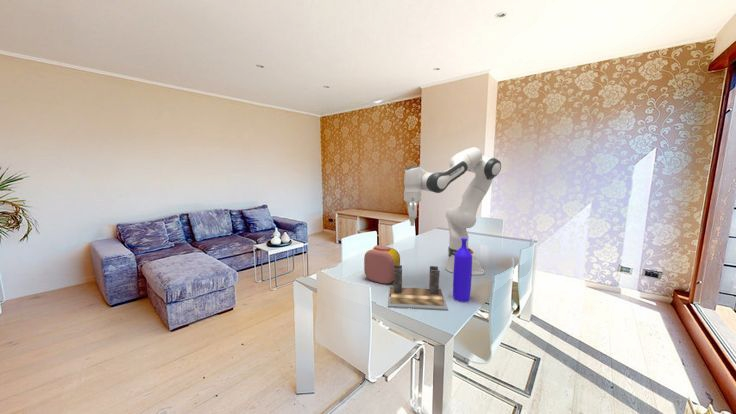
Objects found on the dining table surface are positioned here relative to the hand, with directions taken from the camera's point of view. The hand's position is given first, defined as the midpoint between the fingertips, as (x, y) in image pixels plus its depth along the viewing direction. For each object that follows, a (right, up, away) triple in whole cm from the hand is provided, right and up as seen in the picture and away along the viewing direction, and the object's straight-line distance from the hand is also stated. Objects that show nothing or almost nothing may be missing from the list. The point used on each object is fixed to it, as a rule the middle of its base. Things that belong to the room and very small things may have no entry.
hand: (411, 223), depth 145 cm
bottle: (+23, -36, -10) cm, 44 cm away
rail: (0, -36, -16) cm, 40 cm away
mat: (0, -37, -16) cm, 40 cm away
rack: (+1, -35, -6) cm, 36 cm away
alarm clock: (-15, -33, +12) cm, 38 cm away
